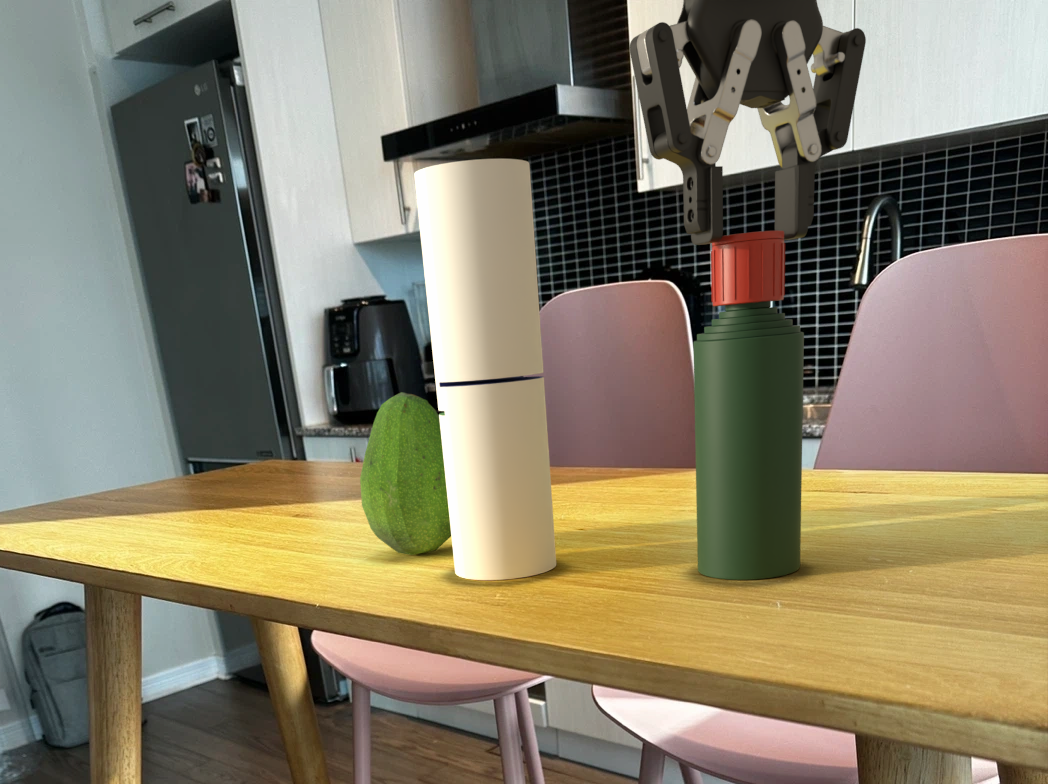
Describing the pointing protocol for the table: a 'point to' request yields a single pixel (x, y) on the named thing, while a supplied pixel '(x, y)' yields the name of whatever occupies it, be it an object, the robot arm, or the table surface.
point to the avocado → (406, 477)
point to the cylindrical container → (488, 364)
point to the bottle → (748, 443)
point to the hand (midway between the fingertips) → (750, 239)
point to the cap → (748, 268)
